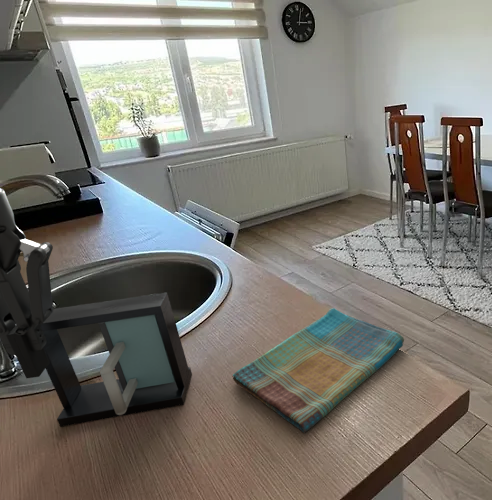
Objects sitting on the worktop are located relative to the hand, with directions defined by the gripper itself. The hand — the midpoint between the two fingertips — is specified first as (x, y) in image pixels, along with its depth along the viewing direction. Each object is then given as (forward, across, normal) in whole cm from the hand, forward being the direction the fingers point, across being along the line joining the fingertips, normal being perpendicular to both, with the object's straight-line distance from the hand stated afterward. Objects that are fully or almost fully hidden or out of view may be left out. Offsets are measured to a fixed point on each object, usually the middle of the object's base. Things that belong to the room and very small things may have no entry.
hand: (38, 370), depth 53 cm
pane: (+9, +10, +2) cm, 14 cm away
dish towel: (+11, +37, +5) cm, 39 cm away
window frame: (+11, +7, +5) cm, 14 cm away
